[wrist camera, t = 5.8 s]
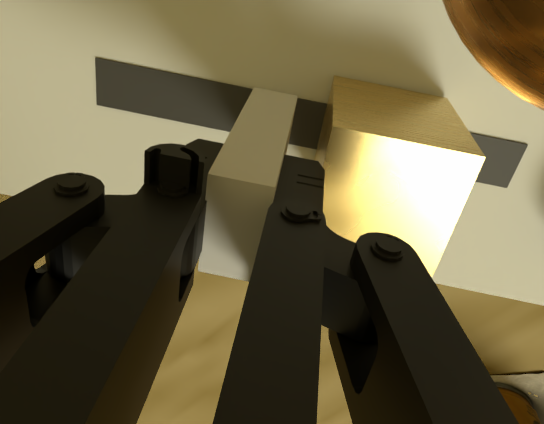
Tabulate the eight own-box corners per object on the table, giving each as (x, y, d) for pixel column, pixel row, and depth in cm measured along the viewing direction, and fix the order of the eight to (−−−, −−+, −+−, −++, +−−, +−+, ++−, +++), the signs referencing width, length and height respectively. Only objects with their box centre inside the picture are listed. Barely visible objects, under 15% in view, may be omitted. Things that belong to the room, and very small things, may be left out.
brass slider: (310, 176, 19) (302, 249, 14) (333, 75, 16) (332, 125, 12) (410, 196, 18) (432, 276, 14) (447, 97, 16) (485, 157, 12)
